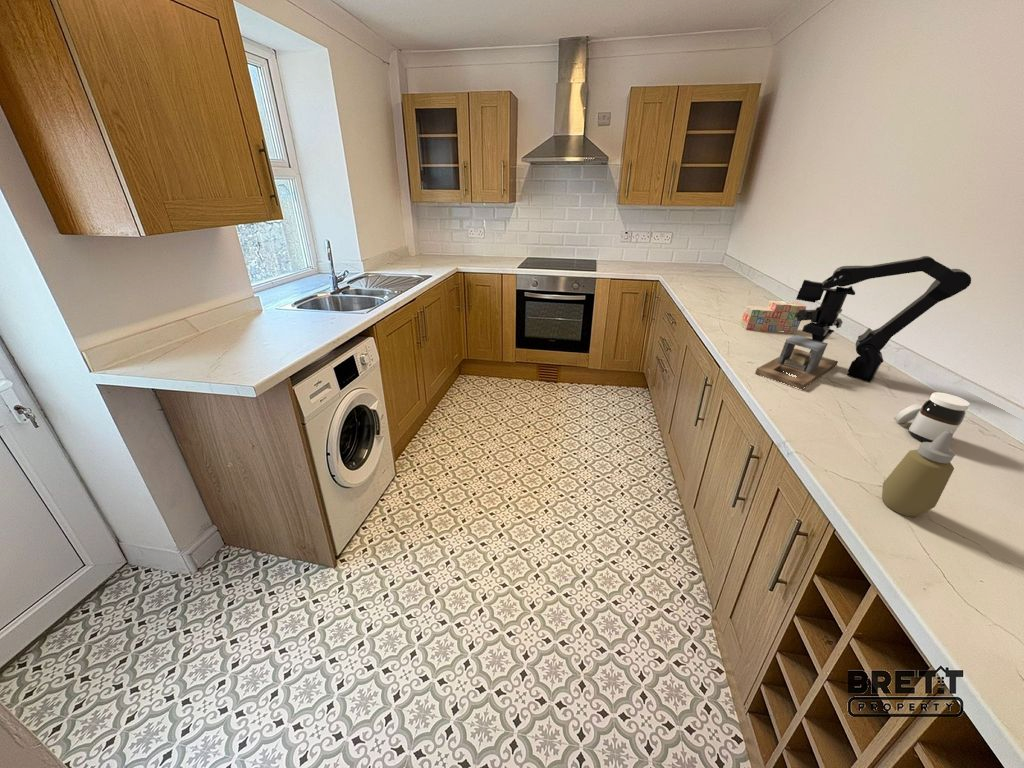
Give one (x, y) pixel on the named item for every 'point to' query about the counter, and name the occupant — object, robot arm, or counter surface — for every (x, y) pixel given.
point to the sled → (796, 365)
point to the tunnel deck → (804, 378)
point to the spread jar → (934, 416)
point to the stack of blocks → (772, 317)
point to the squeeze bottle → (920, 477)
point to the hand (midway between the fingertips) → (813, 348)
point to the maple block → (800, 358)
